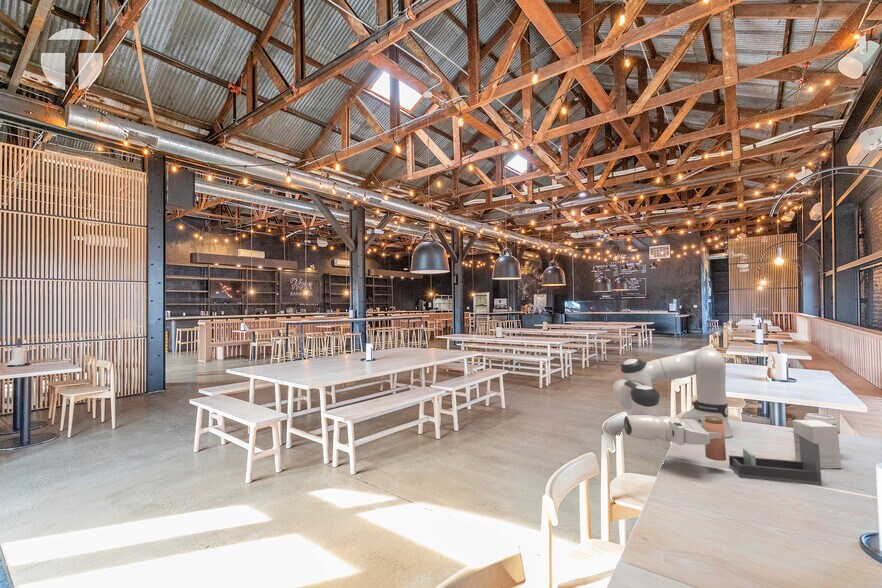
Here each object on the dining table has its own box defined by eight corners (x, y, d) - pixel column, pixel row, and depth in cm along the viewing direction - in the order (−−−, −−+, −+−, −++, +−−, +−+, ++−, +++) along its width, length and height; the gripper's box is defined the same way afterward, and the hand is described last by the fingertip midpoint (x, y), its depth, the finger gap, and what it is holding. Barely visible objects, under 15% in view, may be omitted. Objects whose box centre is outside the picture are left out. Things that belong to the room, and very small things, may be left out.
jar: (702, 457, 142) (700, 417, 142) (709, 453, 145) (707, 414, 146) (722, 462, 137) (720, 420, 138) (728, 458, 140) (726, 418, 141)
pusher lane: (739, 477, 135) (737, 438, 135) (729, 466, 144) (727, 430, 145) (821, 485, 127) (818, 444, 128) (805, 473, 137) (802, 435, 137)
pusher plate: (752, 473, 134) (751, 455, 135) (743, 465, 141) (742, 448, 142) (756, 473, 134) (755, 455, 134) (747, 465, 141) (746, 448, 141)
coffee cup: (847, 459, 149) (844, 418, 150) (821, 459, 149) (818, 419, 150) (823, 450, 158) (820, 412, 159) (799, 451, 159) (796, 412, 159)
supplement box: (820, 460, 149) (817, 419, 149) (842, 469, 140) (839, 426, 141) (794, 459, 149) (791, 419, 150) (814, 468, 141) (811, 425, 141)
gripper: (667, 430, 156) (709, 433, 151) (680, 446, 136) (727, 450, 132) (667, 413, 156) (708, 416, 151) (679, 427, 137) (726, 431, 132)
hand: (717, 432), depth 141 cm, fingers closed on jar, 6 cm apart
